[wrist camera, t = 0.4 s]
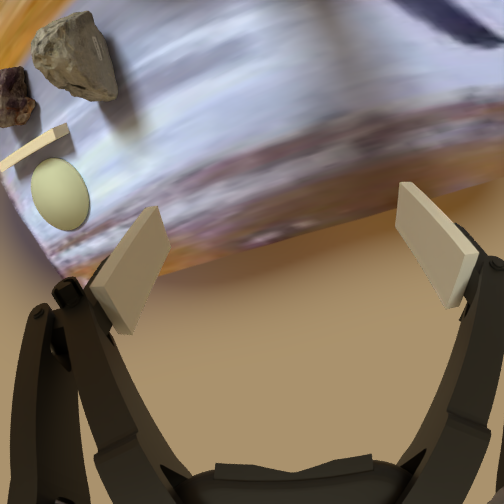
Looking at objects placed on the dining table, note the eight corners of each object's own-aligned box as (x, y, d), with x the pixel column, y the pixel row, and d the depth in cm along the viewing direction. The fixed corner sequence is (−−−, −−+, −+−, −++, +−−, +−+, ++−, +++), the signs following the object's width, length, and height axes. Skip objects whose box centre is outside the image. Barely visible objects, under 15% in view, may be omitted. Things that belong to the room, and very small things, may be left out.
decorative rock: (76, 25, 27) (12, 22, 14) (110, 6, 25) (49, -9, 13) (96, 108, 35) (35, 131, 23) (131, 93, 34) (72, 108, 22)
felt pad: (23, 171, 41) (22, 172, 40) (71, 146, 39) (69, 147, 38) (51, 234, 49) (49, 235, 49) (100, 221, 47) (99, 222, 47)
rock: (36, 61, 30) (5, 85, 31) (4, 59, 22) (-25, 87, 23) (40, 117, 35) (9, 136, 36) (7, 122, 27) (-21, 144, 28)
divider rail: (10, 156, 39) (-2, 163, 36) (66, 122, 36) (52, 128, 33) (13, 164, 40) (1, 172, 37) (69, 132, 37) (55, 139, 34)
